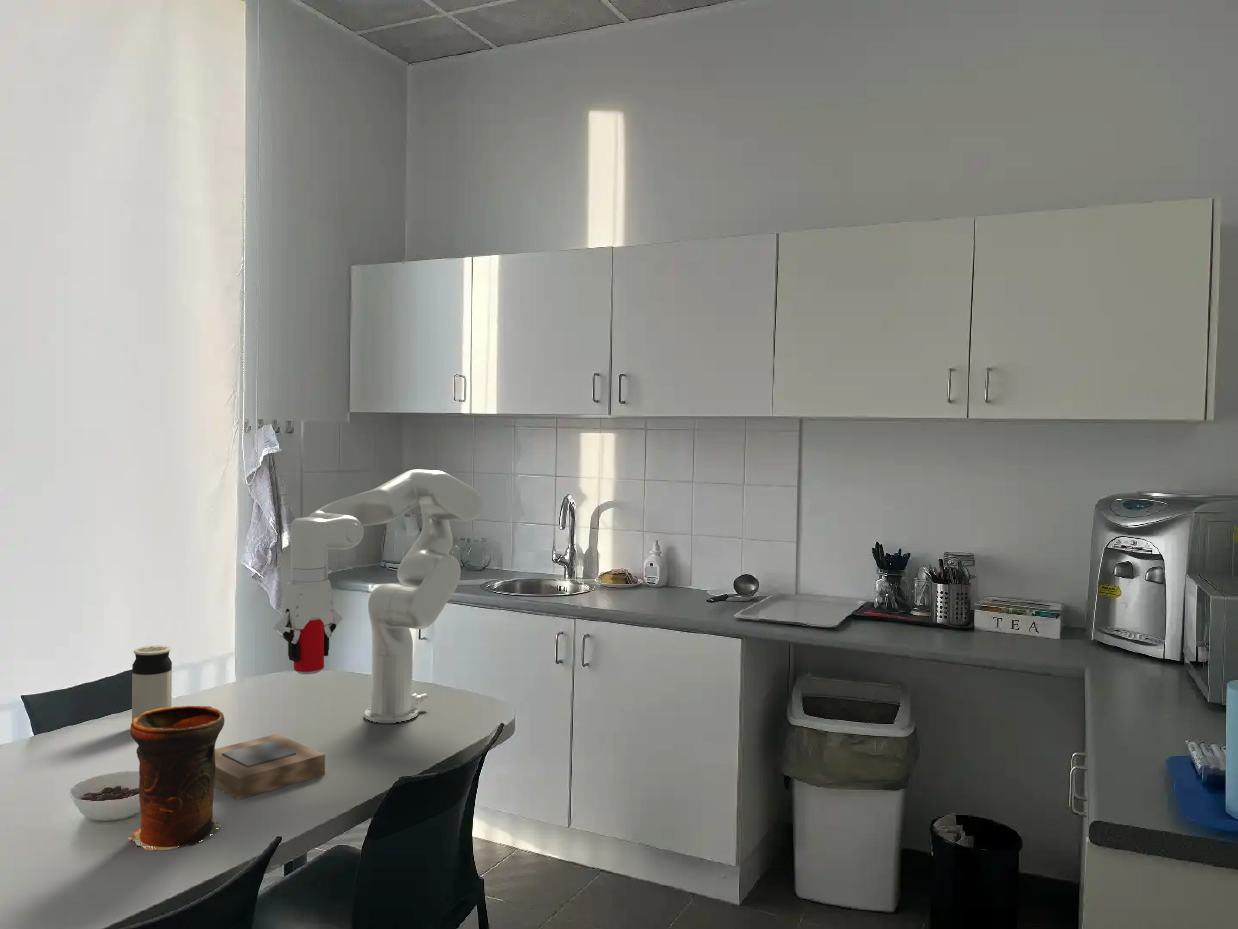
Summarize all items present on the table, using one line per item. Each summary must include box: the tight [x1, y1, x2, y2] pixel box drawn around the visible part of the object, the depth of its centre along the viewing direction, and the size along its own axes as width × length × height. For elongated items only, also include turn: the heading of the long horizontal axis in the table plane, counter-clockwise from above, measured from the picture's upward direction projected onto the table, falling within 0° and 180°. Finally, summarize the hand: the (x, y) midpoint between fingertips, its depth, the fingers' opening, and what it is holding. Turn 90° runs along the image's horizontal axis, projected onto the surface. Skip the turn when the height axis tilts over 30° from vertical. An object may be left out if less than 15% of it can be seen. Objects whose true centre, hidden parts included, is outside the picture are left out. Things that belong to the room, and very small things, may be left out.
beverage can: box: [293, 617, 325, 675], centre depth 205 cm, size 6×6×12 cm
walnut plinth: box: [214, 733, 326, 801], centre depth 187 cm, size 18×18×4 cm
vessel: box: [127, 705, 225, 852], centre depth 160 cm, size 14×14×20 cm
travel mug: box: [131, 645, 173, 722], centre depth 213 cm, size 8×8×18 cm
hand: (308, 657), depth 205 cm, fingers closed on beverage can, 6 cm apart
